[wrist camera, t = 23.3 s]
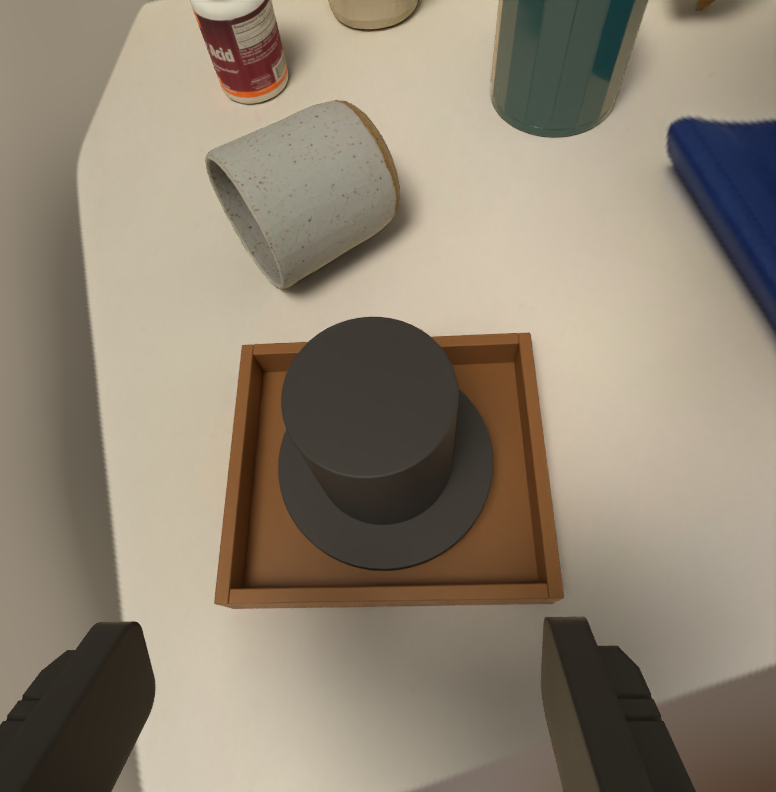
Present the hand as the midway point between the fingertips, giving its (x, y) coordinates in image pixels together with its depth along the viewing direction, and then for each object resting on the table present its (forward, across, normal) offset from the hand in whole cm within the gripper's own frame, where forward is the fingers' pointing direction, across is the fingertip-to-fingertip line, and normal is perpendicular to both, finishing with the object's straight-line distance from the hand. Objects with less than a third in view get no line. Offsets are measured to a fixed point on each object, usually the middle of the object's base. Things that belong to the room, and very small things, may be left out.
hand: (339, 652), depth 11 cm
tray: (+16, 0, +5) cm, 17 cm away
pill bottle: (+36, +9, -15) cm, 41 cm away
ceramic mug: (+27, +5, -6) cm, 28 cm away
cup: (+34, -11, -13) cm, 38 cm away
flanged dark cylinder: (+16, 0, +4) cm, 16 cm away
